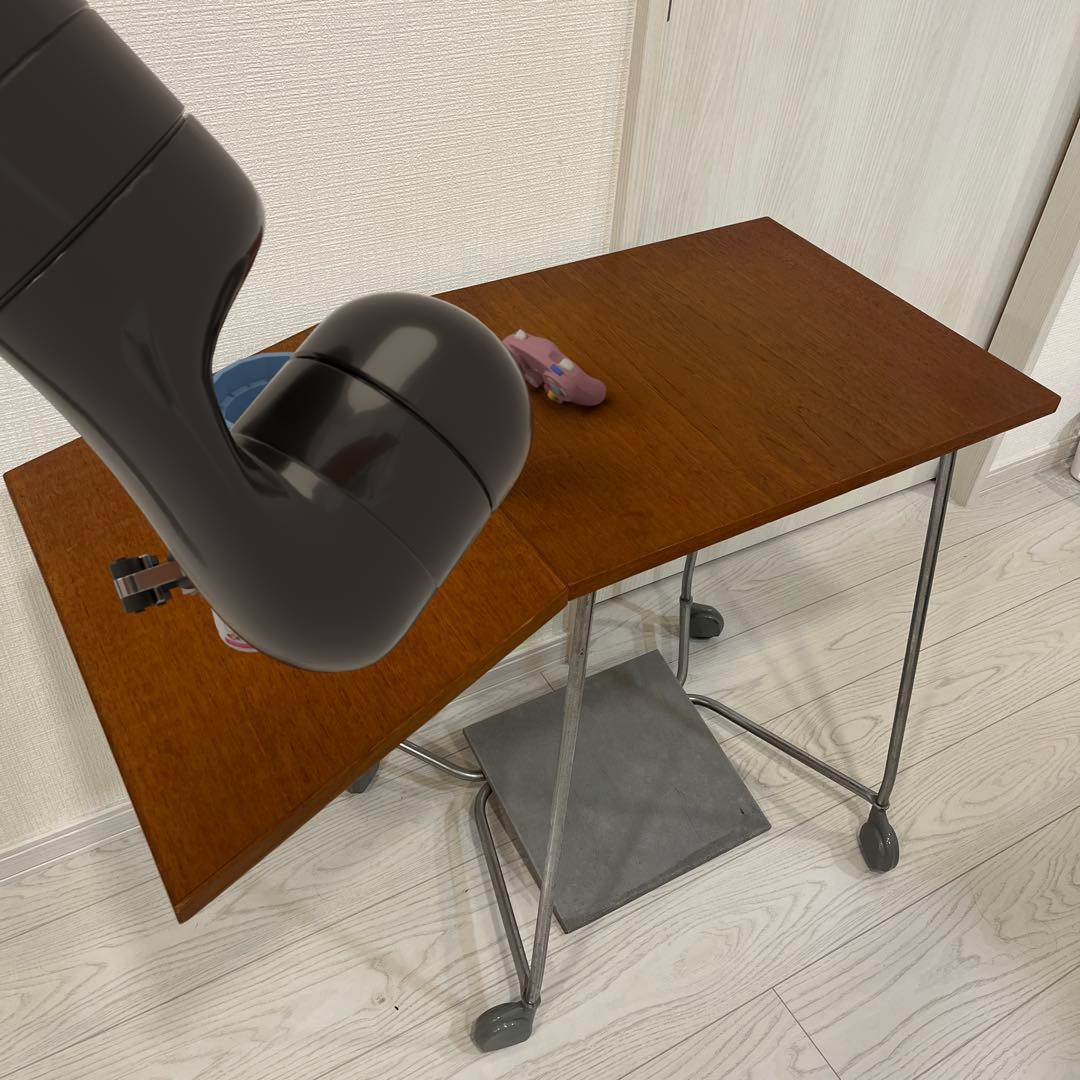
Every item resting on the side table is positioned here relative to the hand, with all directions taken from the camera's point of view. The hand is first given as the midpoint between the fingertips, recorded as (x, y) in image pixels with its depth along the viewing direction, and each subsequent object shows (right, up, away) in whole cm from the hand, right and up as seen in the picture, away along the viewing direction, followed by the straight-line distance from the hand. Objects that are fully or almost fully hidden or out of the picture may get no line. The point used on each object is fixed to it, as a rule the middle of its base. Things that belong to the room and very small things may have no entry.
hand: (237, 555), depth 59 cm
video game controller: (+19, +15, +35) cm, 42 cm away
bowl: (-5, +10, +29) cm, 31 cm away
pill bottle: (+1, -4, +2) cm, 5 cm away
